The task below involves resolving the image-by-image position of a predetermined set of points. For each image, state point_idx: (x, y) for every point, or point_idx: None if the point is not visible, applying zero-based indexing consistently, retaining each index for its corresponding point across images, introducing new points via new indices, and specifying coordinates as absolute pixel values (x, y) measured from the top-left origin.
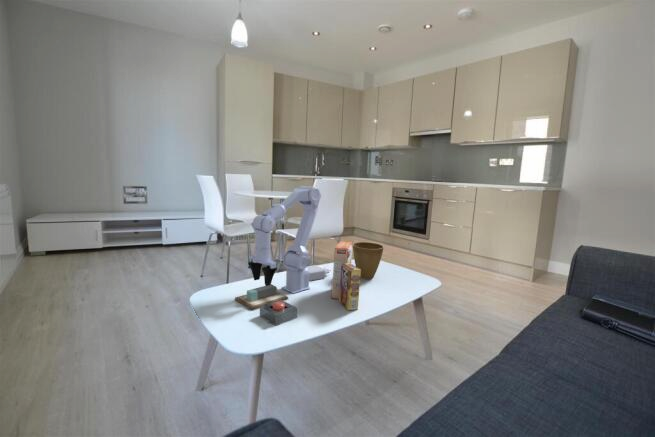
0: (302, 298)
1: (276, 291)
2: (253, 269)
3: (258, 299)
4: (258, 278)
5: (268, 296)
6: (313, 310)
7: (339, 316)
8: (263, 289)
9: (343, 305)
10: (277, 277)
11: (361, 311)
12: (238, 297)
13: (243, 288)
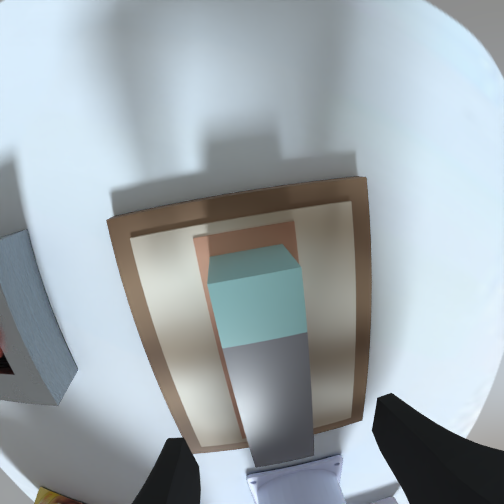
0: None
1: None
2: (445, 474)
3: None
4: (376, 431)
5: None
6: (47, 443)
7: (6, 452)
8: (243, 399)
9: (73, 500)
10: None
11: (36, 493)
12: (354, 201)
13: (467, 296)
